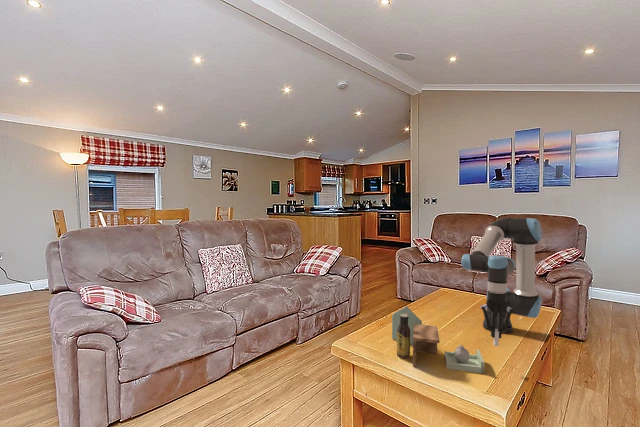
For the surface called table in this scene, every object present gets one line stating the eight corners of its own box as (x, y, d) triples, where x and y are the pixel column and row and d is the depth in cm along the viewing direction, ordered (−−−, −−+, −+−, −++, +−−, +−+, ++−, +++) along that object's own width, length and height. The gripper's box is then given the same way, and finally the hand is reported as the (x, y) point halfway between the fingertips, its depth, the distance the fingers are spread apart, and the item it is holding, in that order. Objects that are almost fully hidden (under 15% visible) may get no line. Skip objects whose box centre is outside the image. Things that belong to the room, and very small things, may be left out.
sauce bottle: (394, 353, 160) (395, 312, 159) (407, 352, 161) (407, 312, 160) (399, 359, 154) (399, 317, 153) (412, 359, 154) (412, 317, 153)
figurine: (472, 361, 150) (472, 344, 149) (466, 367, 145) (467, 349, 144) (457, 356, 154) (457, 339, 154) (451, 362, 149) (451, 344, 149)
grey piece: (427, 343, 171) (427, 305, 171) (421, 348, 165) (421, 309, 165) (398, 334, 182) (398, 299, 181) (391, 339, 176) (391, 303, 175)
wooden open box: (436, 353, 160) (437, 326, 160) (439, 370, 144) (439, 340, 143) (413, 350, 163) (413, 323, 163) (412, 366, 147) (413, 337, 146)
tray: (479, 360, 152) (479, 349, 152) (484, 373, 141) (484, 362, 141) (444, 356, 157) (444, 345, 157) (446, 368, 145) (446, 357, 145)
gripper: (511, 290, 146) (510, 343, 146) (479, 288, 149) (478, 339, 150) (516, 294, 138) (515, 350, 139) (482, 292, 142) (481, 346, 143)
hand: (495, 344), depth 144 cm, fingers closed
